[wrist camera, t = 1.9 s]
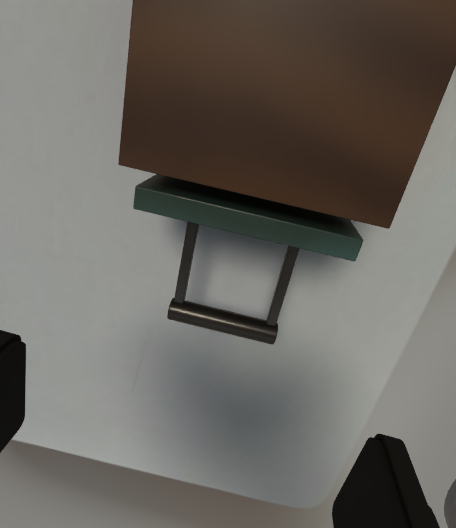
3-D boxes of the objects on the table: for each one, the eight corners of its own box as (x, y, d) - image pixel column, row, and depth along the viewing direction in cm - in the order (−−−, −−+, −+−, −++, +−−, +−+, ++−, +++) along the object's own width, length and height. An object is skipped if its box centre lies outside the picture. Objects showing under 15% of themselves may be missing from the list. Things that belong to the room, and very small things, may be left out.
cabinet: (352, 189, 25) (389, 229, 17) (167, 146, 25) (118, 164, 17) (451, -93, 19) (580, -239, 11) (207, -145, 19) (161, -324, 11)
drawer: (301, 320, 28) (309, 381, 21) (153, 283, 28) (119, 334, 22) (419, -23, 19) (488, -85, 13) (204, -70, 19) (171, -153, 13)
